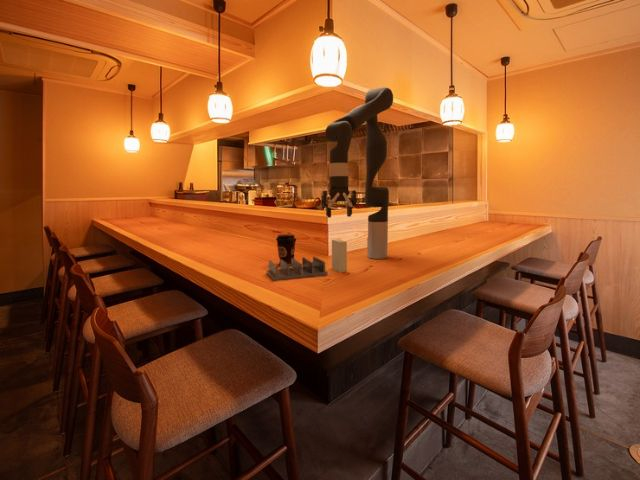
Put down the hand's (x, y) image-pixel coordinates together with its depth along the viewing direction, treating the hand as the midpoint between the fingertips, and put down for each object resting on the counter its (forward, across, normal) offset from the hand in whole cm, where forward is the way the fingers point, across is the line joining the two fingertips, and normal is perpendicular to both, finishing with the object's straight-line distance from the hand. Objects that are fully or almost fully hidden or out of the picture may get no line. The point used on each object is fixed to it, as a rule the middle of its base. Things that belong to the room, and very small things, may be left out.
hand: (339, 216), depth 134 cm
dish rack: (+22, +18, 0) cm, 28 cm away
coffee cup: (+22, +17, -19) cm, 34 cm away
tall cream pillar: (+22, 0, 0) cm, 22 cm away
